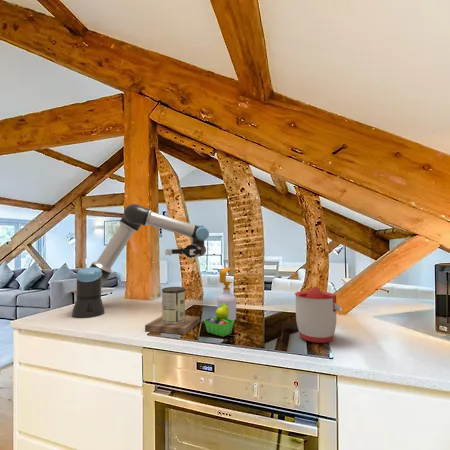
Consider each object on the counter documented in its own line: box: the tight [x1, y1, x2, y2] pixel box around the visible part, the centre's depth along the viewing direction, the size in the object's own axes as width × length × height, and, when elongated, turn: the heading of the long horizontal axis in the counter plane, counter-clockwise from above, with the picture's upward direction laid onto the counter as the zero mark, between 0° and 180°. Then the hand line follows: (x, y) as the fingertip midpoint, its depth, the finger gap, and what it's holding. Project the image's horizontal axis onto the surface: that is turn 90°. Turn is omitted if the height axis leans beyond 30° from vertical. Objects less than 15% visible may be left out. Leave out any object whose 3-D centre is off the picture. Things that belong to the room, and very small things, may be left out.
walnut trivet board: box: [144, 315, 201, 335], centre depth 125 cm, size 18×18×2 cm
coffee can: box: [161, 286, 186, 324], centre depth 126 cm, size 10×10×14 cm
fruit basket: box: [203, 304, 235, 337], centre depth 117 cm, size 11×9×11 cm
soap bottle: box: [216, 267, 237, 322], centre depth 137 cm, size 9×9×25 cm
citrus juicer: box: [294, 286, 343, 344], centre depth 110 cm, size 16×17×20 cm
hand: (178, 252), depth 145 cm, fingers open, 13 cm apart
